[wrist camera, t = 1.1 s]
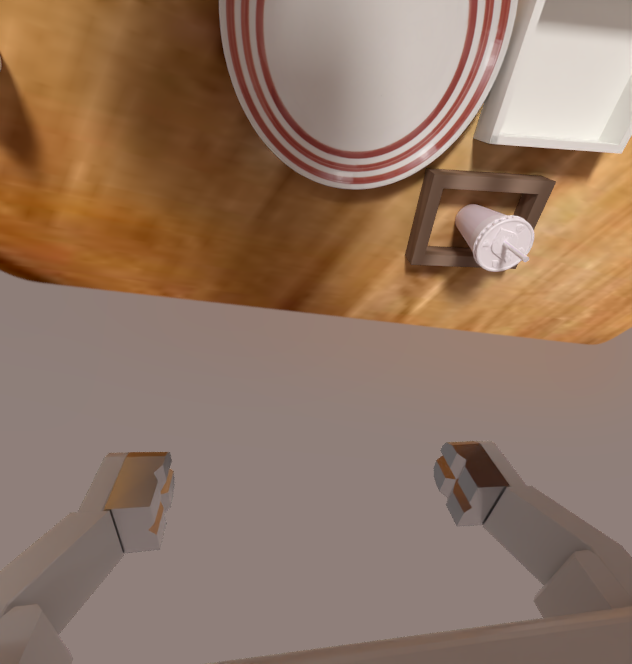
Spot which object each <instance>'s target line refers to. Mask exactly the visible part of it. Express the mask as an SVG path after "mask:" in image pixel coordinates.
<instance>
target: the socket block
mask: <svg viewBox="0 0 632 664" xmlns="http://www.w3.org/2000/svg"><path fill="white" fill-rule="evenodd" d="M555 183H556V182H555V181H553V180H550V179H548V178H545V177H543V176H536V175H520V174H505V173H490V172H475V171H460V170H445V169H430V168H426V172H425V176H424V180H423V184H422V188H421V192H420V197H419V201H418V205H417V209H416V213H415V217H414V221H413V225H412V229H411V233H410V237H409V242H408V246H407V250H406V254H405V256H406V257H407V259H408V261H409V262H410V264H411V265H432V266H457V267H481V266H480V265H478V264H477V263H476V261H475V259H474V257H473V252H472V250H471V248H456V247H433V246H427V245H428V241H429V238H430V234H431V231H432V227H433V224H434V220H435V216H436V213H437V209H438V206H439V202H440V199H441V195H442V192H443V188H446V189H462V190H478V191H495V192H511V193H522V196H521V198H520V200H519V203H518V205H517V208H516V210H515V212H514V215H513V216H519V217H521V218H523V219H525V220H526V221H527V222H528V223H529V224H530V225H531V226H532V228H533V230H534V228H535V226H536V224H537V222H538V219H539V217H540V215H541V213H542V211H543V209H544V207H545V204H546V202H547V200H548V198H549V196H550V194H551V192H552V189H553V187H554V185H555ZM517 265H518V264H516V265H515V266H513V267H511V268H509V269H516V267H517Z"/></svg>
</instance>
